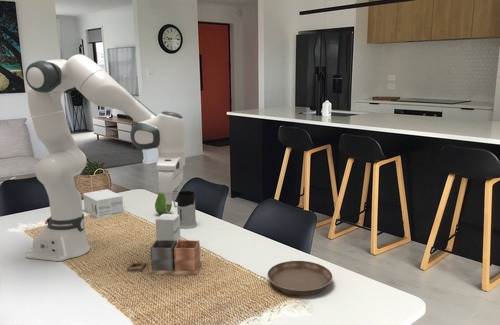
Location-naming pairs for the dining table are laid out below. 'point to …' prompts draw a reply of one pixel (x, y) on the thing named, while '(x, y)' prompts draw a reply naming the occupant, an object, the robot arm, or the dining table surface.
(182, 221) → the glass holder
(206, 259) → the dining table surface
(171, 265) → the stacked cubby shelf
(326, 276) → the plant saucer
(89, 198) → the supplement box
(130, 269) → the ball stand
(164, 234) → the supplement box
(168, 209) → the avocado
